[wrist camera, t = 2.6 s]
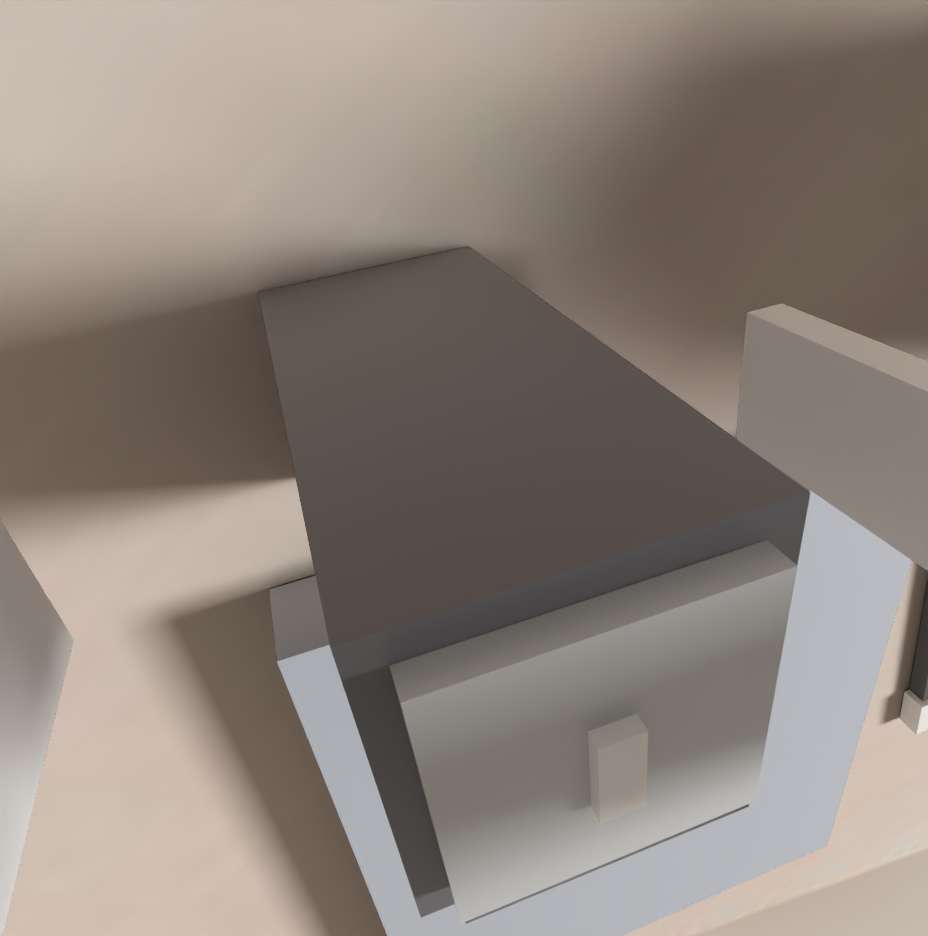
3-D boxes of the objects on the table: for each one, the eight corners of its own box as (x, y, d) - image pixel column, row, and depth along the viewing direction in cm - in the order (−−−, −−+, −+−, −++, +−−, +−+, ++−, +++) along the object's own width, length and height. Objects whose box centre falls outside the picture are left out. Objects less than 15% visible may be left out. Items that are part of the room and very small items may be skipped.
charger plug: (258, 292, 14) (342, 707, 5) (468, 246, 14) (862, 529, 6) (312, 476, 16) (435, 976, 7) (490, 427, 17) (792, 823, 8)
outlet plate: (269, 589, 17) (277, 668, 15) (872, 408, 20) (952, 450, 18) (406, 952, 28) (423, 1029, 26) (786, 794, 31) (830, 850, 29)
